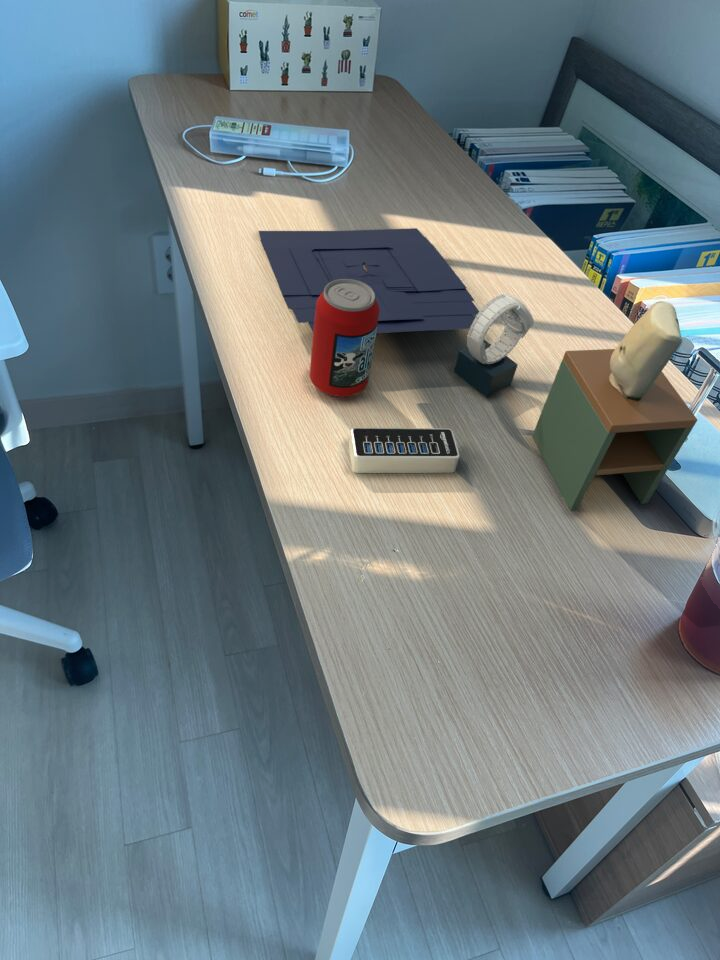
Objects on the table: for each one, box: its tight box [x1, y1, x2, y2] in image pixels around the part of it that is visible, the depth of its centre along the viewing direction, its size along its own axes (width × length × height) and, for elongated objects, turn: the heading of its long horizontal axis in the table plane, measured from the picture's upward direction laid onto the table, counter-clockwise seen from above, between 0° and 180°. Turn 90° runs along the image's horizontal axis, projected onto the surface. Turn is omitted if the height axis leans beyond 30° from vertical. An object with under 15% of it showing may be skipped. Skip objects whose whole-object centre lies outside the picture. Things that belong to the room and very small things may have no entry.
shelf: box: [531, 348, 698, 511], centre depth 78 cm, size 11×9×12 cm
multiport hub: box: [348, 427, 460, 474], centre depth 79 cm, size 4×11×2 cm, turn 97°
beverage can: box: [309, 279, 379, 397], centre depth 83 cm, size 7×7×12 cm
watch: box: [453, 293, 535, 398], centre depth 87 cm, size 6×8×11 cm
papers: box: [258, 227, 480, 334], centre depth 99 cm, size 24×30×4 cm
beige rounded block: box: [609, 300, 683, 401], centre depth 70 cm, size 6×5×8 cm
